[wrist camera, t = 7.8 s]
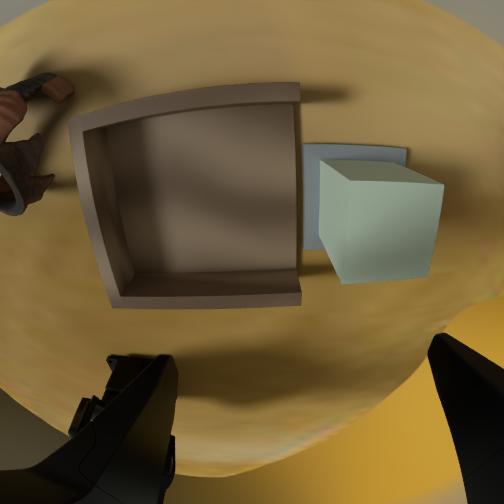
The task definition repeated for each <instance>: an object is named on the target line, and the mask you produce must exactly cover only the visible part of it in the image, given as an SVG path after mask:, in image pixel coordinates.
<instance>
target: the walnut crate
mask: <svg viewBox="0 0 504 504" xmlns="http://www.w3.org/2000/svg"><path fill="white" fill-rule="evenodd" d="M300 101H301V99H300V82H274V83H250V84H236V85H225V86H215V87H206V88H199V89H191V90H185V91H179V92H173V93H167V94H162V95H156V96H152V97H147V98H142V99H138V100H133V101H129V102H125V103H121V104H117V105H114V106H110V107H106V108H103V109H99V110H96V111H93V112H89V113H86V114H83V115H80V116H77V117H74V118H71V119H68V125H69V134H70V142H71V150H72V156H73V163H74V169H75V175H76V180H77V185H78V190H79V195H80V200H81V204H82V209H83V213H84V217H85V221H86V225H87V229H88V233H89V237H90V240H91V244H92V247H93V251H94V254H95V258H96V261H97V264H98V267H99V270H100V274H101V277H102V280H103V283H104V285H105V288H106V291H107V294H108V297H109V300H110V302H111V305H112V308H129V309H231V308H261V307H282V306H300V305H301V297H302V292H301V287H300V283H299V278H298V274H297V270H296V160H295V131H294V109H293V104H295V103H297V102H300Z"/></svg>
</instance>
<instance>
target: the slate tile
mask: <svg viewBox="0 0 504 504" xmlns="http://www.w3.org/2000/svg"><path fill="white" fill-rule="evenodd" d="M302 155H303V248H304V250H315V249H325V247H324V245H323V243H322V241H321V239H320V237H319V210H320V160H361V161H381V162H394V163H396V164H399V165H401V166H403V167H406V149H405V148H400V147H389V146H374V145H356V144H302Z"/></svg>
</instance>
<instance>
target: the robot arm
mask: <svg viewBox="0 0 504 504" xmlns="http://www.w3.org/2000/svg"><path fill="white" fill-rule="evenodd" d="M427 355H428V360H429V363H430V366H431V370H432V374H433V378H434V382H435V385H436V389H437V392H438V395H439V398H440V401H441V404H442V407H443V409H444V413H445V416H446V419H447V422H448V425H449V428H450V432H451V435H452V438H453V442H454V445H455V449H456V453H457V456H458V460H459V464H460V468H461V473H462V477H463V482H464V487H465V492H466V497H467V503H468V504H504V369H503V368H501V367H500V366H498V365H497V364H495V363H494V362H492V361H490V360H488V359H487V358H486V357H484V356H482V355H481V354H479V353H478V352H476V351H474V350H473V349H471V348H469V347H468V346H466V345H465V344H463V343H461V342H460V341H458V340H457V339H455V338H453V337H452V336H450V335H448V334H447V333H439V334H436V335H435V336H434V337H433V340H432V342H431V344H430V347H429V349H428V354H427ZM106 361H107V363H108V365H109V366H110V368H111V370H112V374H111V376H110V378H109V380H108V382H107V385H106V387H105V388H106V390H105V393H104V395H103V397H102V400H100V399H98V397H96V396H95V395H93V397H92V398H91V399H88V398H82V400H81V402H80V404H79V406H78V408H77V411H76V413H75V415H74V418H73V420H72V423H71V425H70V428H69V431H68V434H69V436H70V438H71V439H70V440H69V441H68V442H67V443H65V444H64V445H63V446H61V447H60V448H59V449H57V450H56V451H55V452H54V453H52V454H51V455H49V456H48V457H47V458H45V459H44V460H43V461H41V462H40V463H38V464H37V465H34V466H32V467H29V468H25V469H16V470H2V471H0V504H163V501H164V496H165V492H166V489H168V487H169V486H170V484H171V482H172V480H173V478H174V474H175V436H173V435H171V430H172V425H173V420H174V414H175V403H176V400H177V394H176V393H177V383H178V371H177V368H176V365H175V362H174V359H173V357H172V355H165V354H160V355H158V356H157V357H156V358H155V359H154V360H149V359H137V358H127V357H117V356H108V357H107V359H106ZM90 420H93V421H90Z"/></svg>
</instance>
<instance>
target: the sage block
mask: <svg viewBox="0 0 504 504" xmlns="http://www.w3.org/2000/svg"><path fill="white" fill-rule="evenodd" d="M443 192H444V185H443V184H441V183H439V182H437V181H435V180H433V179H431V178H429V177H426V176H424V175H422V174H420V173H417V172H415V171H413V170H411V169H408V168H406V167H403V166H401V165H399V164H396V163H394V162H381V161H361V160H320V210H319V237H320V239H321V241H322V243H323V245H324V247H325V249H326V251H327V254H328V256H329V258H330V260H331V262H332V264H333V266H334V269H335V271H336V273H337V275H338V277H339V280H340V282H341V284H353V283H366V282H379V281H391V280H403V279H414V278H424V277H427V276H428V272H429V268H430V264H431V259H432V255H433V250H434V246H435V241H436V236H437V231H438V225H439V219H440V213H441V207H442V200H443Z"/></svg>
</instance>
